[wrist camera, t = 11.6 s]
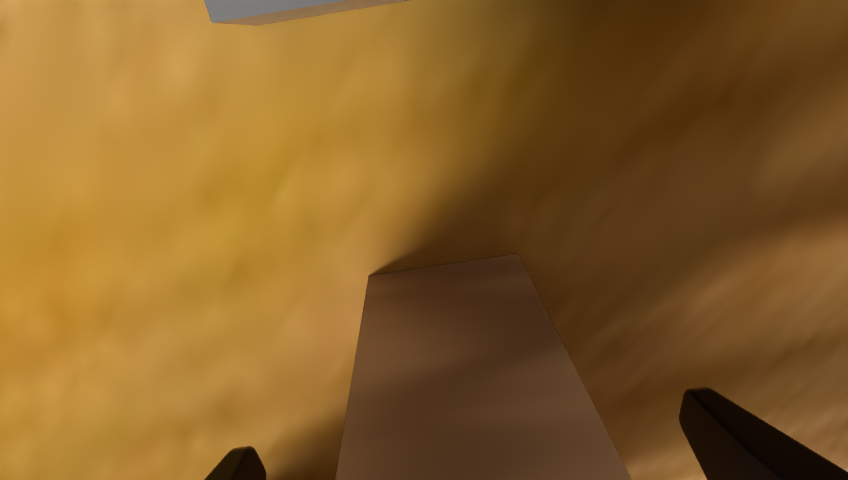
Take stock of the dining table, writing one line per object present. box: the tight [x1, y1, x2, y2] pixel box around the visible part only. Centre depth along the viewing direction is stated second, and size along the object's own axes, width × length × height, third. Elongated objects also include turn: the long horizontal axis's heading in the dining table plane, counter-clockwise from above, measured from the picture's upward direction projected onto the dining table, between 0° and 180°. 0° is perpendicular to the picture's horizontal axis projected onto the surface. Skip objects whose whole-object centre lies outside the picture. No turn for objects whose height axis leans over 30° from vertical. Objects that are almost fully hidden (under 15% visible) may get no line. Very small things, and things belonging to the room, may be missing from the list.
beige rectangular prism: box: [335, 254, 632, 480], centre depth 8 cm, size 4×4×7 cm
